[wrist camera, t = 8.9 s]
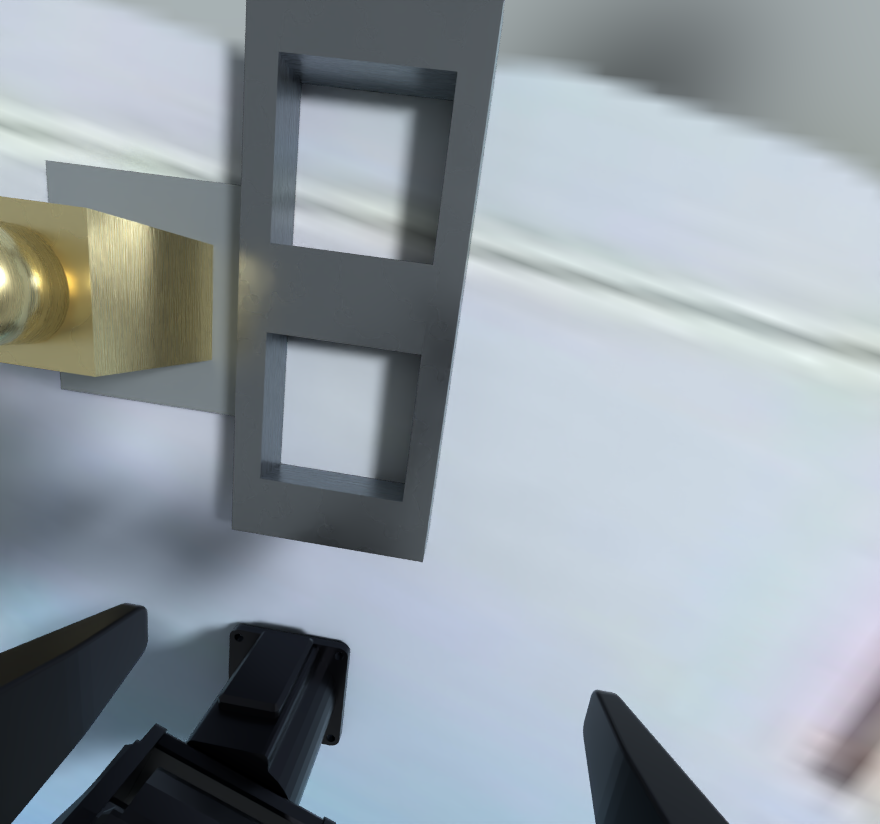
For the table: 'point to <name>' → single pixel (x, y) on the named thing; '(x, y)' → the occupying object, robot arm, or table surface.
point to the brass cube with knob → (100, 291)
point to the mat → (183, 213)
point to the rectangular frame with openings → (350, 255)
